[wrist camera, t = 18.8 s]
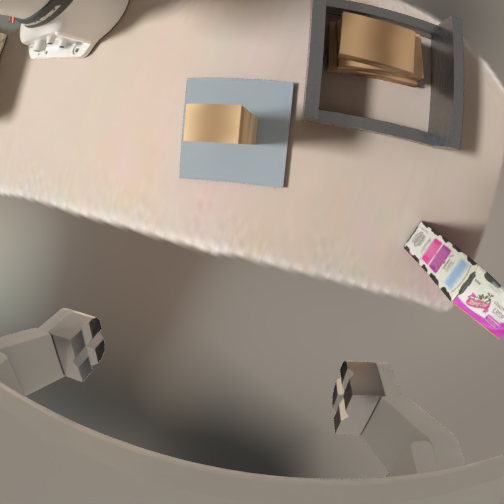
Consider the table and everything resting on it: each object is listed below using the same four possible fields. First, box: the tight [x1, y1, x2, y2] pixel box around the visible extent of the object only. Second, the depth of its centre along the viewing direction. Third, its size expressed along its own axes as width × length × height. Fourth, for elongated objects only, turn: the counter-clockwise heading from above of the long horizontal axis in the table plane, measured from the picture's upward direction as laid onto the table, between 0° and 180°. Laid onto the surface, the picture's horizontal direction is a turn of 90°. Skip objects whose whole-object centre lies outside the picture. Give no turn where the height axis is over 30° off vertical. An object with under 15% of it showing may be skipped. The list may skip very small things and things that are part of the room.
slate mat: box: [179, 78, 294, 188], centre depth 38 cm, size 14×14×1 cm
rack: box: [302, 0, 464, 150], centre depth 29 cm, size 19×18×7 cm
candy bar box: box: [404, 221, 504, 339], centre depth 32 cm, size 11×5×16 cm, turn 61°
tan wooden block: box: [183, 104, 258, 145], centre depth 31 cm, size 5×4×13 cm
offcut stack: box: [327, 11, 424, 87], centre depth 29 cm, size 12×7×6 cm, turn 87°
